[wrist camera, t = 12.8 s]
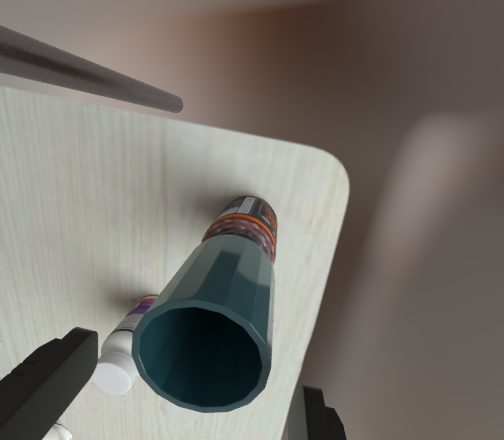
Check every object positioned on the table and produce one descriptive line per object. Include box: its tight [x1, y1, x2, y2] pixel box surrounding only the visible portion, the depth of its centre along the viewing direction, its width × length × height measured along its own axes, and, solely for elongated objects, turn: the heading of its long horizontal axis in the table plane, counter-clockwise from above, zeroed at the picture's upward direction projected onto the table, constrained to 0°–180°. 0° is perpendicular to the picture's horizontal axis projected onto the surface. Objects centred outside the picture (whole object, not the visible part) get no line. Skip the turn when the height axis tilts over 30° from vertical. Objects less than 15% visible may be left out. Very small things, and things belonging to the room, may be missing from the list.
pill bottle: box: [90, 296, 158, 396], centre depth 28 cm, size 5×5×10 cm
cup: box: [131, 234, 275, 413], centre depth 14 cm, size 6×6×7 cm
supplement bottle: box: [201, 196, 277, 265], centre depth 23 cm, size 6×6×11 cm
